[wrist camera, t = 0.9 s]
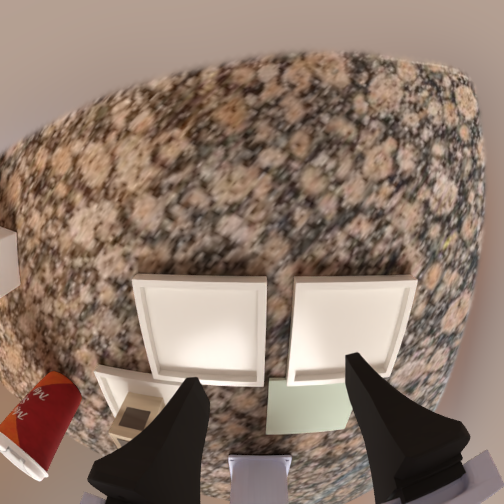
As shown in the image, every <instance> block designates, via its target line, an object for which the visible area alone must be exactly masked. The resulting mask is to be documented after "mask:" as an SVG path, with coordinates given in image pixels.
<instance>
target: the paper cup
mask: <svg viewBox="0 0 504 504" xmlns="http://www.w3.org/2000/svg"><path fill="white" fill-rule="evenodd" d="M81 400H82V397H81V394H80V392H79V390H78V388H77V387H76V386H75V385H74V384H73V383H72V382H71V381H70V380H69V379H68V378H67V377H66V376H64V375H62V374H61V373H59V372H56V371H51V372H49V373H48V374H47V375H46V376H45V377H44V378H43V379H42V380H41V381H40V382H39V383H38V384H37V385H36V386H35V387H34V388H33V389H32V390H31V391H30V392H29V393H28V394H27V395H26V396H25V397H24V399H23V400H22V401H21V402H20V403H19V404H18V405H17V406H16V407H15V408H14V410H13V411H12V412H11V413H10V414H9V415H8V416H7V417H6V418H5V420H4V421H3V422H2V423H1V424H0V451H1V452H2V454H3V455H4V456H5V457H6V458H7V459H9V460H10V461H11V462H12V463H13V464H14V465H15V466H17V467H18V468H19V469H21V470H22V471H23V472H25V473H26V474H28V475H29V476H31V477H32V478H34V479H35V480H38V481H42V479H43V478H44V477H48V474H47V471H48V469H49V466H50V464H51V462H52V459H53V457H54V455H55V453H56V451H57V449H58V447H59V445H60V443H61V440H62V438H63V436H64V434H65V432H66V430H67V428H68V426H69V424H70V422H71V420H72V418H73V416H74V414H75V412H76V411H77V408H78V406H79V404H80V402H81Z"/></svg>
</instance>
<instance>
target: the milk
mask: <svg viewBox="0 0 504 504" xmlns="http://www.w3.org/2000/svg"><path fill="white" fill-rule="evenodd" d="M20 285H21V283H20V274H19V264H18V251H17V233H16V232H14V231H11V230H9V229H6V228H3V227H0V298H1V297H3V296H4V295H6V294H7V293H9V292H10V291H12V290H13V289H15V288H17V287H18V286H20Z"/></svg>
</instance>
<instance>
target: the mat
mask: <svg viewBox="0 0 504 504" xmlns="http://www.w3.org/2000/svg"><path fill="white" fill-rule="evenodd" d="M351 411H352V406H351V403H350V400H349V397H348V393H347V389H346V385H345V383H335V384H323V385H308V386H287V385H286V378H269V389H268V406H267V421H266V435H274V434H299V433H312V432H323V431H332V430H340V429H345V426H346V424H347V421H348V419H349V416H350V414H351Z"/></svg>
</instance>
